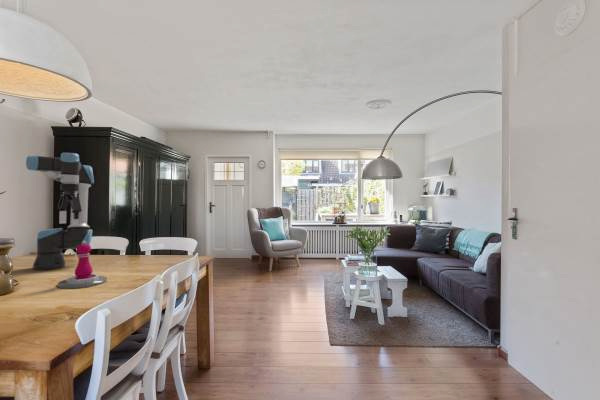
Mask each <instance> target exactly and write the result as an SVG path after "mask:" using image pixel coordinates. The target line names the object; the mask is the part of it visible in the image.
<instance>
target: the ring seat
mask: <svg viewBox="0 0 600 400" xmlns="http://www.w3.org/2000/svg"><path fill="white" fill-rule="evenodd" d="M90 276H91V278H88V279H80V280H76V278H77V276H76V275H75V274H74V275H71V276H69V277H67V278H66V279H63V280H61V281H59V282H58V283H57V287H58V288H60V289H64V288H65V289H66V290H69V289H70V290H71V289H72V290H73V289H74V290H75V289H84V288H90V287H96V286H99V285H102V284H105V283H106V282H107V281H108V278H107V276H104V275H100V274H99V273H91V275H90Z"/></svg>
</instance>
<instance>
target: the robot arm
mask: <svg viewBox="0 0 600 400" xmlns="http://www.w3.org/2000/svg"><path fill="white" fill-rule="evenodd" d="M25 166H26V168H27V170H29V171H34V172H36V171H37V172H40V173H42V174H43V175H44V176H45V177H46V178H47V179H49V180H53V181H56V182H60V184H59V185H60V186H59V190H60V191H61V192H59V193H60V196H59V201H58V204H57V210H58V211H59V216H58V217H59V224H60V225H61V224H67V211H68V209H67V207H68V206H69V205H70V224H69V225H68V226H67V227H66V229H64V228H63V227H59V228H49V229H43V230H40V231H38V233H37V237H36V243H37V244H36V249H37V250H36V257H35V259H34V261H33V263H32V270H35V271H44V270H46V271H47V270H54V269H55V270H56V269H60V268H64V267H66V260H65V258H64V255H63V250H72V249H76V248H77V247H78V246H79V245H81V244H82V241H86V244H88V245H90V246H91V242H92V238H93V229H91V226H90V225H89V224H88V213H89V212H88V208H89V188H91V187H92V184H94V183H95V179H94V173H93V172H94V171H93V167H92V166H91V165H85V164H82V163H81V162H80V155H79V154H78V153H75V152H62V153H60V157H53V156H41V155H40V156H39V155H28V156H27V157H26V161H25Z"/></svg>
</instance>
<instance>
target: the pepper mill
mask: <svg viewBox="0 0 600 400" xmlns="http://www.w3.org/2000/svg"><path fill="white" fill-rule="evenodd" d="M75 251H76V253H77V258H78V263H77V265H76V267H75V270H74V275H76V276H77V278H76V280H80V279H88V278H91V276H90V275H91V274H93V272H94V271H93V267H92V265H91V263H90V252H91V251H92V247H91V244H90V245H88V244H86V241H82V244H81V245H79V246H78V247H77V248H76V250H75Z"/></svg>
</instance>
